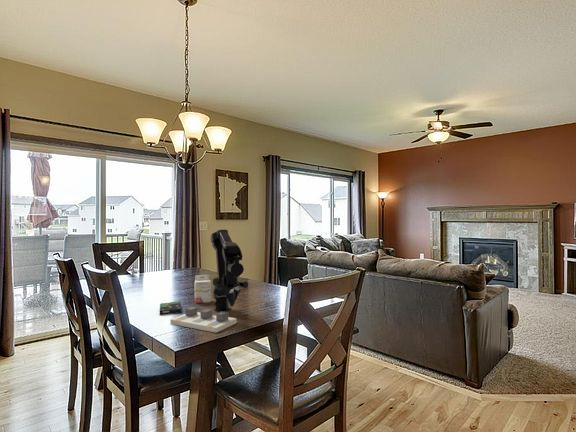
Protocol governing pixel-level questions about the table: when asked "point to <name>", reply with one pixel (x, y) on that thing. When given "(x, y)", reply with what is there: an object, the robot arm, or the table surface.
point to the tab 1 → (191, 311)
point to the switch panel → (203, 322)
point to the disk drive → (170, 308)
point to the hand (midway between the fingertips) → (231, 306)
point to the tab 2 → (222, 316)
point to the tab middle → (206, 313)
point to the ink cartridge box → (202, 289)
